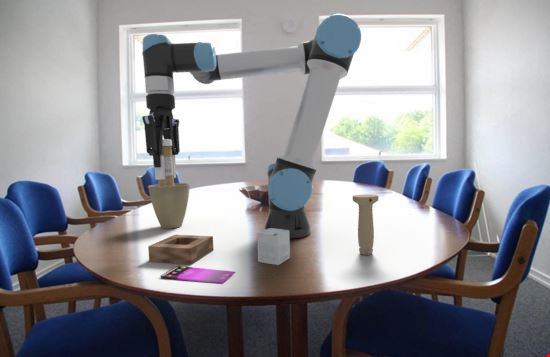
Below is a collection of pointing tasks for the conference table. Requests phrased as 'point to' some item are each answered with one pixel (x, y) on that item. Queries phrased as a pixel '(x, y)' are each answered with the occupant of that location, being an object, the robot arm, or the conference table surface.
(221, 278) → the smartphone
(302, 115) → the robot arm
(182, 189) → the plant pot
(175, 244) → the bore block
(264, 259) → the skincare box
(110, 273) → the conference table surface
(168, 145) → the sprinkles bottle
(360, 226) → the handle
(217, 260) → the conference table surface
